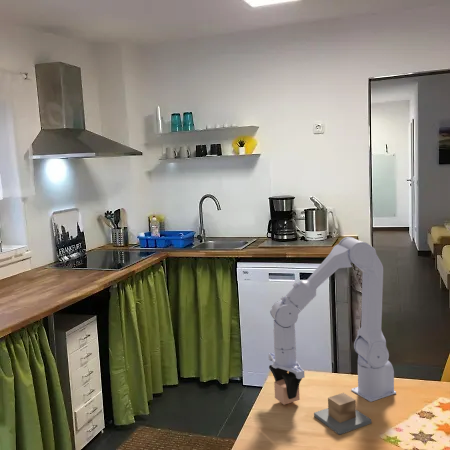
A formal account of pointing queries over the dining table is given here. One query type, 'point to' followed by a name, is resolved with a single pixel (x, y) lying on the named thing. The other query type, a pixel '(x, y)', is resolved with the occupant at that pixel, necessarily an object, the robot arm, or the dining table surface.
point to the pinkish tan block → (283, 392)
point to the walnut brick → (341, 407)
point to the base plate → (343, 426)
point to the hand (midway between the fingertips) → (286, 393)
